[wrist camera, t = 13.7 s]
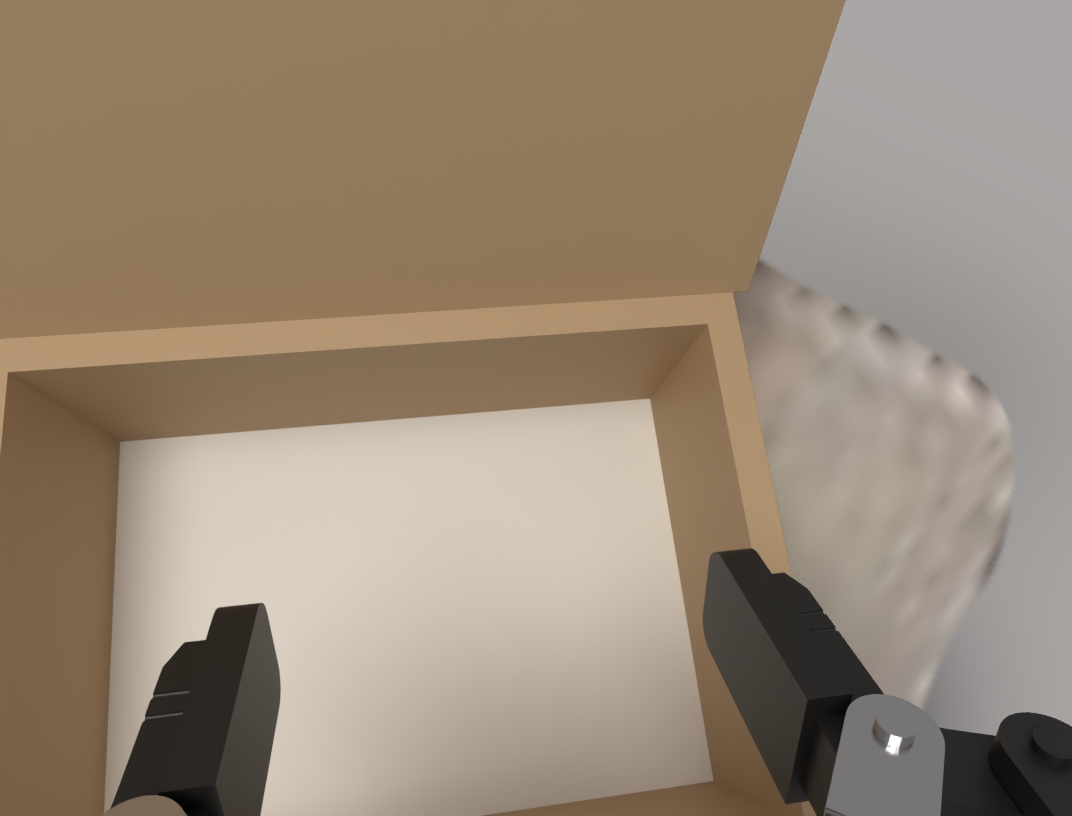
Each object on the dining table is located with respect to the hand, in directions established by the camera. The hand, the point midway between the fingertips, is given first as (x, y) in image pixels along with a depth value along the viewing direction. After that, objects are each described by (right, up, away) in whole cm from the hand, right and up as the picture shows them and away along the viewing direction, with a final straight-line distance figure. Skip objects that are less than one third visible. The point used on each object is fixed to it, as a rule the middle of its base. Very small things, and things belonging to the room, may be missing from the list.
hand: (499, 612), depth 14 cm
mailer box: (-4, -4, +14) cm, 15 cm away
